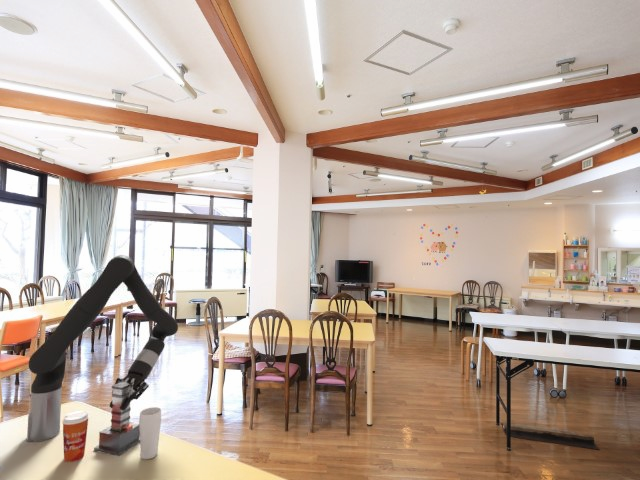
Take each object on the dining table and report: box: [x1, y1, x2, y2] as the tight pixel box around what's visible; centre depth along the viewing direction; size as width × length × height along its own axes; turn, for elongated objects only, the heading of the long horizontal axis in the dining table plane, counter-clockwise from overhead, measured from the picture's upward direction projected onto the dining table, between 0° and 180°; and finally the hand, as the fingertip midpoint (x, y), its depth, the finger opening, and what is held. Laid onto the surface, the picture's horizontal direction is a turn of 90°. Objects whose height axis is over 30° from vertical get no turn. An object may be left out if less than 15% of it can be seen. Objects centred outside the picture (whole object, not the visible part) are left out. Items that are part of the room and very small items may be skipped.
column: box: [110, 382, 132, 433], centre depth 126 cm, size 5×5×16 cm
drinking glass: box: [138, 406, 162, 460], centre depth 120 cm, size 7×7×15 cm
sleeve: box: [93, 421, 140, 457], centre depth 126 cm, size 11×11×7 cm
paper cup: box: [61, 410, 91, 463], centre depth 118 cm, size 8×8×14 cm
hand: (116, 408), depth 124 cm, fingers closed on column, 4 cm apart
